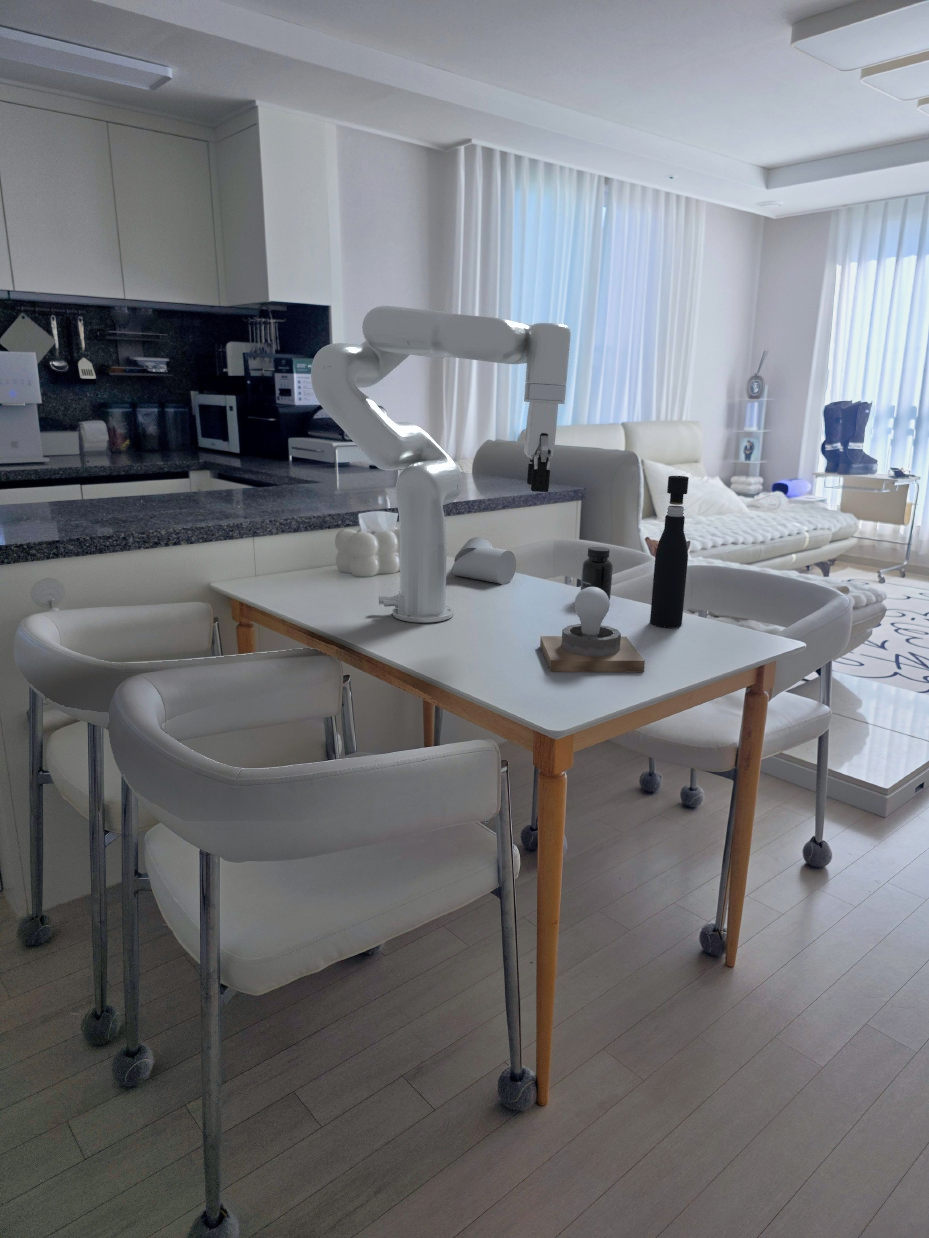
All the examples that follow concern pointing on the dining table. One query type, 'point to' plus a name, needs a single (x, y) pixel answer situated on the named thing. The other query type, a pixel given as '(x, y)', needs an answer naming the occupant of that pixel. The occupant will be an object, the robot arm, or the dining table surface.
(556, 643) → the socket base
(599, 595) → the lightbulb
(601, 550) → the supplement bottle
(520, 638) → the dining table surface
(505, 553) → the l-shaped cylinder
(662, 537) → the black water bottle
